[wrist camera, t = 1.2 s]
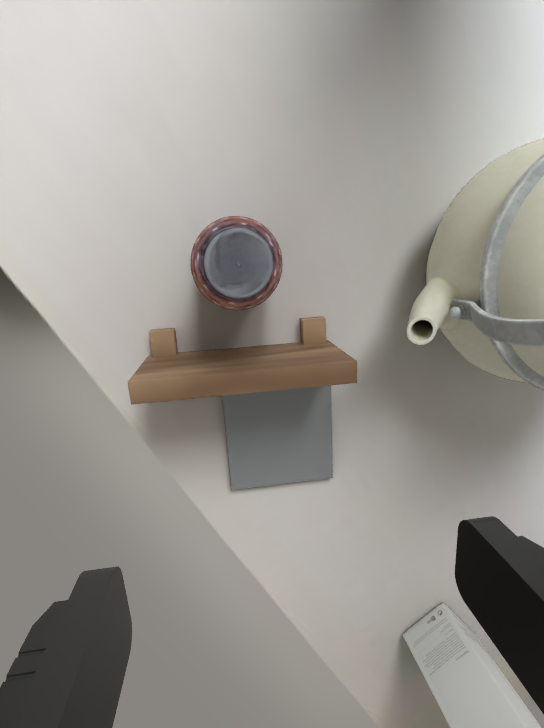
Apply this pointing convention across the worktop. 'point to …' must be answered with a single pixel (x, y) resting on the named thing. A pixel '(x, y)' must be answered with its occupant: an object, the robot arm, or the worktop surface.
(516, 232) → the kettle
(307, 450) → the mat
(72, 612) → the robot arm
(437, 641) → the skincare box
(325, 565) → the worktop surface
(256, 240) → the supplement bottle
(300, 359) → the wooden panel
